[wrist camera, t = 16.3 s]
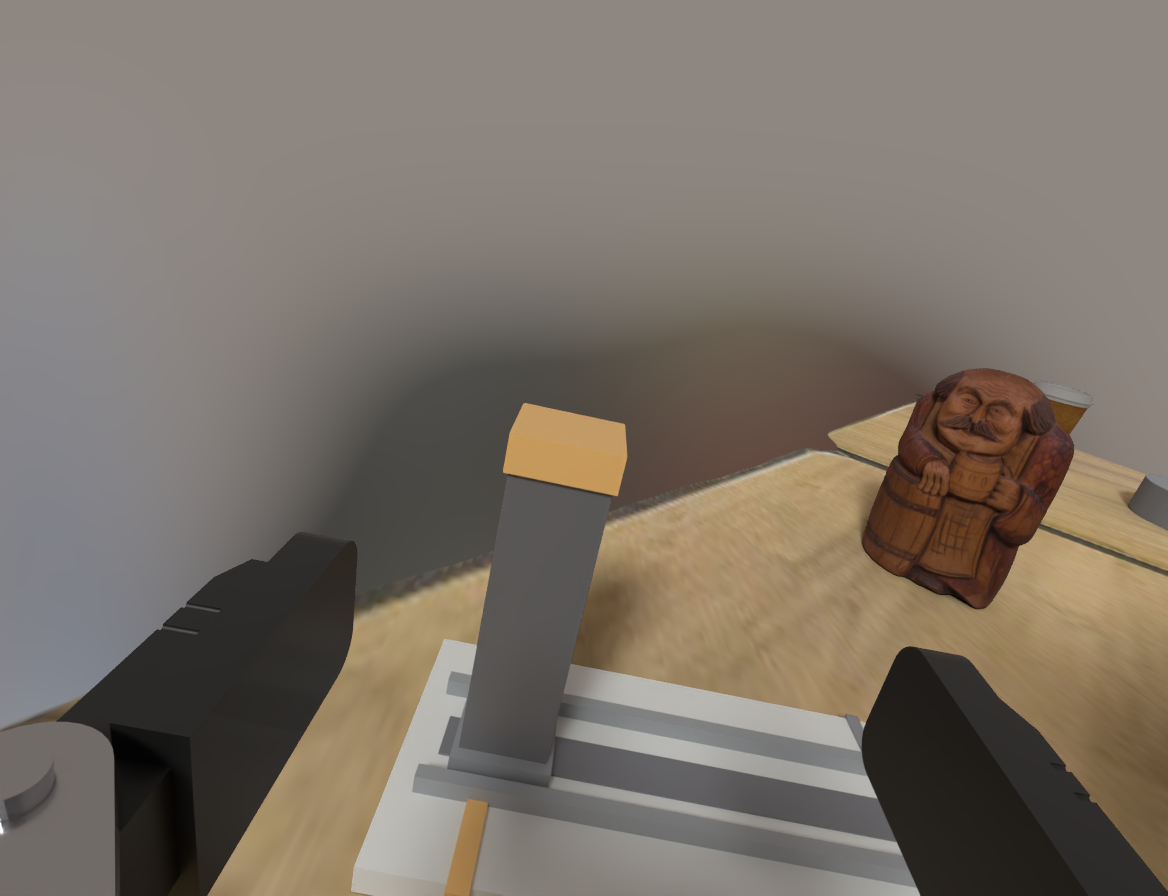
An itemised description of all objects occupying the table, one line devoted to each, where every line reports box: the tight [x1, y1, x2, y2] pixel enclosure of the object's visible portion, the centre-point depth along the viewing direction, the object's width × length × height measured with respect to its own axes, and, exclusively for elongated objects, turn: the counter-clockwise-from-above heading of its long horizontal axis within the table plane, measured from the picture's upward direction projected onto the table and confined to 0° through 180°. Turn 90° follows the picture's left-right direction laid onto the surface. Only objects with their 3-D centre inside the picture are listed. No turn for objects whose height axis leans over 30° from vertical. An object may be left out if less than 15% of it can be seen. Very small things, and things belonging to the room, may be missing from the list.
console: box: [351, 639, 920, 896], centre depth 27 cm, size 27×13×2 cm, turn 88°
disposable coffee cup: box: [1033, 380, 1093, 434], centre depth 110 cm, size 10×10×12 cm
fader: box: [447, 403, 627, 788], centre depth 24 cm, size 4×4×14 cm
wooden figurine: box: [863, 368, 1074, 609], centre depth 51 cm, size 12×6×18 cm, turn 49°
